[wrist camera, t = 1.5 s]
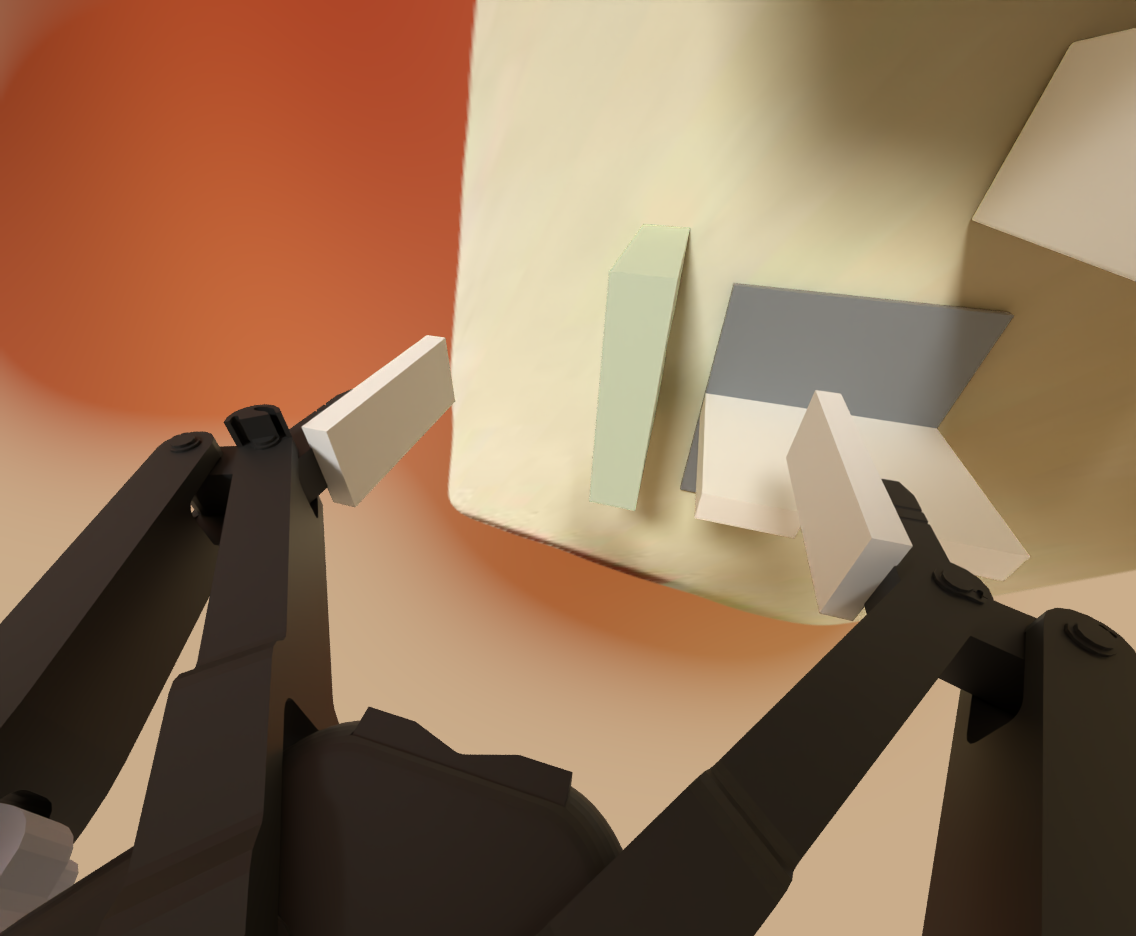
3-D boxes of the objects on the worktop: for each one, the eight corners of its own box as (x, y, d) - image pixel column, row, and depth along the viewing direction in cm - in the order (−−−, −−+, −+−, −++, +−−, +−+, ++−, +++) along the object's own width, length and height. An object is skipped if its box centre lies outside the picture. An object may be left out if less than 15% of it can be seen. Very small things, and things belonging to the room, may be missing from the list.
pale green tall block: (643, 224, 28) (609, 271, 19) (690, 228, 28) (677, 278, 19) (620, 409, 37) (589, 501, 28) (655, 414, 36) (635, 511, 27)
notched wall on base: (680, 485, 40) (670, 597, 31) (733, 283, 29) (742, 361, 19) (868, 521, 37) (920, 657, 28) (1008, 312, 26) (1178, 421, 16)
